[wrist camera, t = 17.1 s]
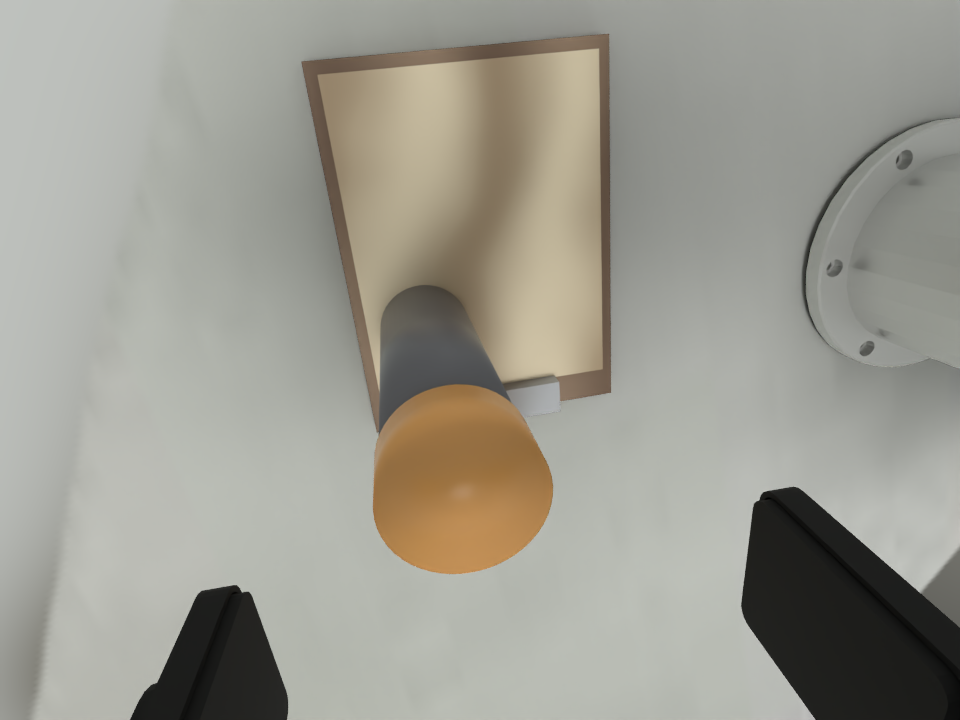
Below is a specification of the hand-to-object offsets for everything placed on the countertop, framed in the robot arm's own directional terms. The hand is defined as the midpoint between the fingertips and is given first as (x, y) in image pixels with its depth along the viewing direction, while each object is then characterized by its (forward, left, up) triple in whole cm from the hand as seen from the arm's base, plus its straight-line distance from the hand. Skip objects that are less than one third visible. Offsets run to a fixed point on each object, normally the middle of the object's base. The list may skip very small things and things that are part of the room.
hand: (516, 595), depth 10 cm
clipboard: (-2, -3, -17) cm, 17 cm away
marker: (+1, 0, -16) cm, 16 cm away
